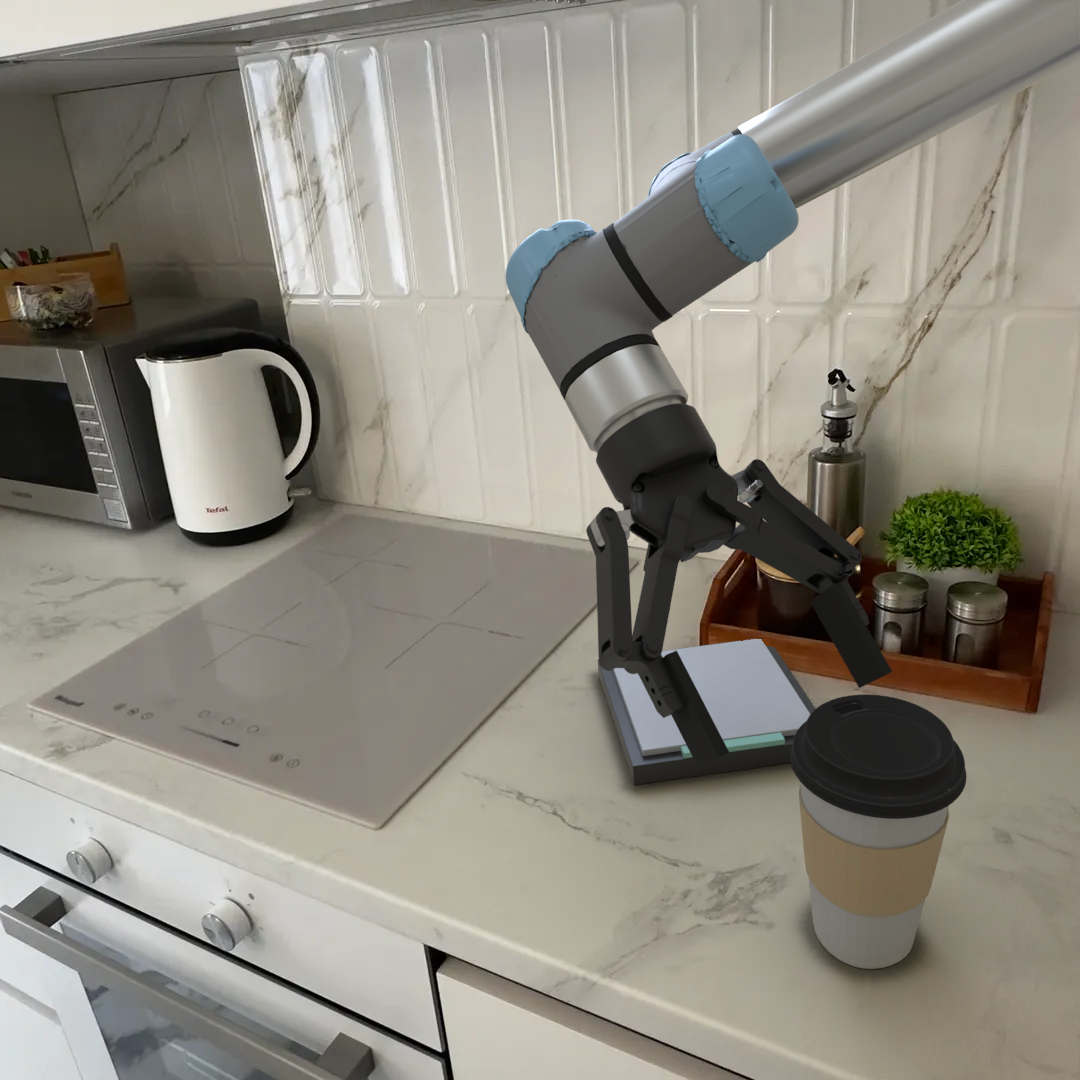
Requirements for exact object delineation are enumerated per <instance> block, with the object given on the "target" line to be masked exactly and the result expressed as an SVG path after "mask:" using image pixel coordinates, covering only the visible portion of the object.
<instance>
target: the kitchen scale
mask: <svg viewBox="0 0 1080 1080" xmlns="http://www.w3.org/2000/svg"><path fill="white" fill-rule="evenodd" d="M749 639H750V640H749ZM749 639H743V641H741V640H736V641H735V640H733V641H728V642H727V641H726V642H719V643H712V644H704V645H703V644H702V645H697V646H689V647H688V646H687V647H682V648H674V649H666V650H662V653H661V655H662V657H664V656H666V655H667V654H669V653H672V652H674V651H677V652H678V654H679V656H680V658H681V660H682V662H683V664H684V666H685V668H686V669H687V671H688V673H689V675H690V677H691V679H692V681H693V683H694V685H695V687H696V689H697V691H698V693H699V695H700V697H701V699H702V700H703V702H704V704H705V706H706V708H707V710H708V712H709V714H710V716H711V718H712V720H713V722H714V724H715V726H716V728H717V729H718V731H719V733H720V735H721V737H722V739H723V741H724V743H725V745H726V747H727V749H728V751H729V752H728V753H726V754H724V755H722V756H720V757H718V758H716V759H714V760H712V761H710V762H708V763H706V764H703V765H701V766H699V767H697V765H696V763H695V761H694V759H693V757H692V755H691V753H690V751H689V749H688V747H687V745H686V743H685V741H684V739H683V737H682V735H681V733H680V731H679V729H678V727H677V725H676V723H675V721H674V719H673V717H672V715H670V716H667V717H665V718H663V717H662V716H661V715H660V714H659V713H658V712H657V711H656V709H655V707H654V705H653V702H652V701H651V699H650V696H649V695H648V693H647V691H646V689H645V687H644V685H643V683H642V681H641V679H640V677H639V675H638V674H630V673H628V672H627V671H626V670H625V669H624V668H615V669H613V670H611V671H608V670H605V669H603V668H602V667H601V665H600V664H599V658H598V659H597V673H598V678H599V681H600V684H601V688H602V690H603V694H604V697H605V700H606V704H607V706H608V710H609V712H610V715H611V718H612V721H613V725H614V729H615V732H616V734H617V737H618V740H619V744H620V746H621V751H622V754H623V756H624V759H625V762H626V764H627V765H626V766H627V768H628V771H629V775H630V778H631V781H632V784H633V786H637V785H644V784H651V783H657V782H666V781H672V780H679V779H686V778H694V777H700V776H707V775H715V774H722V773H728V772H729V773H730V772H735V771H740V770H741V771H743V770H749V769H758V768H763V767H771V766H778V765H785V764H791V762H790V751H791V747H792V744H793V739H794V736H795V734H796V732H797V730H798V729H799V728H800V726H801V725H802V724H803V723H804V722H806V721H807V719H808V717H809V716H810V714H811V713H812V712H813V711H814V710H815V709H816V708H817V707H815V706H814V704H813V703H812V701H811V699H810V698H809V696H808V695H807V694H806V692H805V691H804V689H803V688H802V686H801V685H800V683H799V681H798V680H797V678H796V677H795V675H794V674H793V672H792V671H791V669H790V668H789V667H788V665H787V663H786V662H785V661H784V659H783V657H782V655H780V653H779V651H778V650H777V649H776V647H775V646H774V647H771V646H766V645H765V644H764V642H763V641H762V639H756V638H749Z"/></svg>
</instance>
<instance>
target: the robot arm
mask: <svg viewBox="0 0 1080 1080" xmlns="http://www.w3.org/2000/svg"><path fill="white" fill-rule="evenodd" d="M1079 61H1080V0H960V1H958V2H956V3H955V4H953V5H951V6H949V7H947V8H946V9H944V10H942V11H940V12H939V13H937V14H935V15H934V16H931V17H929V18H928V19H927V20H925V21H922V22H920V23H919V24H917V25H916V26H914V27H911V29H909V30H906V31H905V32H903V33H901V34H900V35H898V36H896V37H895V38H893V39H891V40H889V41H887V42H886V43H884V44H882V45H880V46H879V47H877V48H875V49H873V50H871V51H869V52H868V53H866V54H865V55H864V54H863V56H861V57H859V58H857V59H856V60H853V61H852V62H851V63H849V64H847V65H844V66H843V67H841V68H840V69H838V70H836V71H834V72H832V73H831V74H829V75H827V76H825V77H824V78H822V79H821V80H819V81H817V82H815V83H813V84H811V85H810V86H808V87H806V88H804V89H802V90H801V91H799V92H797V93H795V94H794V95H792V96H790V97H788V98H786V99H785V100H782V101H781V102H780V103H778V104H776V105H774V106H772V107H771V108H769V109H767V110H765V111H764V112H761V113H760V114H758V115H757V116H754V117H753V118H751V119H750V120H748V121H746V122H744V123H742V124H741V125H739V126H737V128H736V129H734V130H732V131H730V132H728V133H726V134H724V135H722V136H719V137H718V138H716V139H714V140H712V141H711V142H709V143H707V144H705V145H704V146H702V147H700V148H699V149H697V150H695V151H693V152H686V153H683V154H681V155H679V156H676V158H673V159H672V160H670V161H669V162H668V163H666V164H664V165H663V166H662V167H661V169H660V170H659V172H658V173H657V174H656V175H655V177H654V178H653V180H652V182H651V184H650V187H649V189H648V193H647V197H646V198H645V199H644V200H642V201H641V202H640V203H638V204H637V205H636V206H634V207H633V208H632V209H631V210H629V211H628V212H626V213H625V214H624V215H623V216H622V217H620V218H619V219H618V220H616V221H615V222H611V224H609V225H607V226H606V227H605V228H602V229H601V230H599V231H598V232H597V231H595V230H594V228H593V227H592V226H591V225H590V224H589V223H587V222H586V221H582V220H579V219H562V220H558V221H556V222H554V223H553V224H552V225H551V226H550V227H548V228H546V229H545V228H539V229H537V230H536V231H534V232H533V233H531V234H530V235H529V236H527V237H526V238H524V240H522V242H521V243H520V244H519V245H518V246H517V247H516V249H514V251H513V253H512V254H511V256H510V258H509V260H508V262H507V265H506V269H505V283H506V287H507V290H508V292H509V294H510V296H511V299H512V301H513V303H514V305H515V308H516V310H517V312H518V314H519V316H520V322H521V323H522V327H523V329H524V332H525V333H526V334H528V336H529V338H530V340H531V341H532V343H533V345H534V347H535V348H536V350H537V352H538V354H539V356H540V357H541V359H542V361H543V363H544V365H545V367H546V368H547V371H548V372H549V374H550V376H551V378H552V380H553V381H554V383H555V385H556V387H557V388H558V390H559V392H560V395H561V396H562V399H563V400H564V402H565V405H566V407H567V408H568V410H569V412H570V414H571V416H572V418H573V420H574V422H575V424H576V426H577V427H578V429H579V431H580V433H581V435H582V437H583V439H584V441H585V443H586V444H587V446H588V448H589V450H590V451H591V452H595V453H596V457H595V463H596V465H597V467H598V469H599V471H600V473H601V475H602V477H603V479H604V480H605V483H606V485H607V486H608V488H609V491H610V493H611V494H612V496H613V498H614V499H615V501H616V502H618V503H619V504H621V505H622V508H623V510H617V511H616V510H615V509H614V508H613V507H610V506H604V507H602V509H601V510H599V512H598V513H597V514H596V515H595V517H594V518H593V519H592V520H591V521H590V523H589V524H588V525H587V526H586V530H585V532H586V535H587V538H588V540H589V544H590V546H591V548H592V551H593V553H594V556H595V571H596V572H595V574H596V575H595V579H596V581H595V582H596V610H597V611H596V613H597V640H598V641H597V647H598V650H597V651H598V659H599V664H600V665H601V667H602V668H603V669H605V670H608V671H611V670H613V669H615V668H624V669H625V670H626V671H627V672H628V673H630V674H638V675H639V677H640V679H641V681H642V683H643V685H644V687H645V689H646V691H647V693H648V695H649V696H650V699H651V701H652V702H653V705H654V707H655V709H656V711H657V712H658V713H659V714H660V715H661V716H662V717H663V718H665V717H667V716H670V715H672V717H673V719H674V721H675V723H676V725H677V727H678V729H679V731H680V733H681V735H682V737H683V739H684V741H685V743H686V745H687V747H688V749H689V751H690V753H691V755H692V757H693V759H694V761H695V763H696V765H697V767H699V766H701V765H703V764H706V763H708V762H710V761H712V760H714V759H716V758H718V757H720V756H722V755H724V754H726V753H728V752H729V751H728V749H727V747H726V745H725V743H724V741H723V739H722V737H721V735H720V733H719V731H718V729H717V728H716V726H715V724H714V722H713V720H712V718H711V716H710V714H709V712H708V710H707V708H706V706H705V704H704V702H703V700H702V699H701V697H700V695H699V693H698V691H697V689H696V687H695V685H694V683H693V681H692V679H691V677H690V675H689V673H688V671H687V669H686V668H685V666H684V664H683V662H682V660H681V658H680V656H679V654H678V652H677V651H674V652H672V653H669V654H667V655H666V656H664V657H662V655H661V653H662V651H663V650H664V643H665V637H666V632H667V626H668V621H669V616H670V610H671V606H672V605H671V604H672V599H673V593H674V588H675V584H676V583H675V582H676V577H677V572H678V566H679V563H680V562H681V563H685V562H687V561H689V560H692V559H693V558H694V557H695V556H697V555H698V554H703V553H711V552H714V551H716V550H719V549H720V548H721V547H722V546H724V547H727V548H728V549H731V550H741V551H743V552H744V553H746V554H748V555H750V556H752V557H754V558H755V559H757V560H759V561H761V562H763V563H764V564H766V565H767V566H769V567H771V568H773V569H775V570H777V571H779V572H780V573H782V574H784V575H786V576H788V577H789V578H791V579H793V580H795V581H797V582H798V583H799V584H802V585H803V586H806V587H807V588H809V589H811V590H812V591H814V592H816V593H818V594H817V595H816V596H815V597H813V598H812V599H810V600H809V602H810V604H811V606H812V608H813V609H814V611H815V613H816V615H817V616H818V618H819V620H820V622H821V623H822V625H823V627H824V629H825V630H826V632H827V634H828V636H829V637H830V638H829V639H831V641H832V643H833V645H834V646H835V648H836V650H837V652H838V653H839V656H840V657H841V659H842V660H843V662H844V664H845V666H846V667H847V669H848V671H849V673H850V674H851V676H852V678H853V680H854V682H855V684H856V685H857V687H858V689H860V688H862V687H864V686H866V685H868V684H871V683H873V682H875V681H877V680H879V679H881V678H882V677H885V676H887V675H889V674H891V673H893V670H892V668H891V667H890V664H889V663H888V661H887V659H886V658H885V656H884V654H883V652H882V651H881V650H880V647H879V646H878V644H877V642H876V641H875V639H874V637H873V636H872V634H871V632H870V631H869V628H868V627H867V626H868V625H870V620H869V615H868V614H867V612H866V611H865V609H864V608H863V605H862V603H861V602H860V599H858V597H857V595H856V593H855V592H854V590H853V588H852V587H851V585H850V582H849V578H850V577H851V576H853V575H854V573H855V571H856V568H855V567H856V566H857V565H859V564H860V563H861V562H862V560H863V557H862V554H861V551H860V550H859V549H857V547H855V546H854V545H853V544H852V543H850V542H849V540H847V539H845V537H844V536H842V535H841V534H840V533H839V532H837V531H836V530H835V528H833V527H831V525H829V524H828V523H827V522H825V521H824V520H823V519H822V518H821V517H820V516H819V515H817V514H816V513H815V512H814V511H812V510H811V509H810V508H809V507H808V506H807V505H805V504H804V503H803V502H802V501H801V500H799V499H798V498H797V497H795V496H794V495H793V494H792V493H791V492H790V491H789V490H787V489H786V488H785V487H783V485H781V484H780V483H779V481H778V480H777V479H776V477H775V475H774V474H773V473H772V471H771V470H770V469H769V467H768V465H767V464H766V463H765V462H764V461H763V460H761V459H760V458H759V459H758V458H755V459H753V460H752V461H751V462H750V463H749V464H748V465H747V466H746V467H745V468H743V469H742V470H740V471H738V472H736V473H734V474H732V475H730V473H728V472H727V471H725V470H724V468H723V467H722V466H721V464H720V463H719V458H718V453H717V452H718V451H717V445H716V443H715V441H714V439H713V437H712V436H711V434H710V432H709V430H708V428H707V427H706V425H705V423H704V421H703V419H702V418H701V416H700V415H699V413H698V411H697V408H695V407H694V406H692V405H689V404H687V403H688V401H689V394H688V392H687V391H686V390H687V389H686V388H685V387H684V385H683V383H682V382H681V380H680V378H679V376H678V375H677V373H676V371H675V369H674V367H673V366H672V365H671V363H670V361H669V359H668V358H667V356H666V354H665V352H664V351H663V350H662V347H661V346H660V344H659V342H658V340H657V339H656V337H655V334H654V332H653V330H654V329H655V328H657V327H658V326H660V325H661V324H663V323H665V322H667V321H668V320H670V319H672V318H673V316H675V315H676V314H678V313H679V312H681V311H682V310H684V309H685V308H687V307H688V306H689V305H691V304H693V303H694V302H696V301H697V300H699V299H700V298H702V297H704V296H705V295H706V294H708V293H710V292H711V291H713V290H714V289H715V288H717V287H718V286H720V285H721V284H723V283H724V282H726V281H727V280H729V279H732V277H734V276H736V275H737V274H738V273H740V272H741V271H743V270H744V269H746V268H747V267H749V266H750V265H752V264H753V263H755V262H756V263H759V262H760V261H763V260H764V259H765V257H766V256H767V254H768V253H770V251H772V250H774V248H775V247H777V246H778V245H779V244H781V243H782V242H783V241H785V240H786V239H788V238H789V237H790V236H792V234H794V232H795V231H796V230H797V228H798V225H799V220H800V219H799V213H798V210H797V209H798V208H801V207H803V206H804V205H805V204H808V203H810V202H812V201H814V200H816V199H818V198H819V197H821V196H823V195H825V194H827V193H829V192H831V191H833V190H835V189H836V188H838V187H840V186H843V185H844V184H846V183H848V182H850V181H852V180H854V179H856V178H857V177H860V176H862V175H863V174H865V173H867V172H869V171H871V170H873V169H875V168H877V167H879V166H881V165H882V164H883V165H884V163H887V162H889V161H890V160H892V159H894V158H896V157H898V156H900V155H902V154H903V153H905V152H907V151H909V150H911V149H913V148H915V147H917V146H919V145H921V144H922V143H924V142H926V141H929V140H930V139H932V138H934V137H936V136H938V135H940V134H942V133H944V132H946V131H947V130H949V129H951V128H954V127H955V126H957V125H959V124H961V123H962V122H964V121H966V120H968V119H971V118H972V117H974V116H976V115H978V114H981V113H982V112H984V111H986V110H989V108H991V107H993V106H995V105H997V104H999V103H1001V102H1003V101H1005V100H1007V99H1009V98H1011V97H1013V96H1015V95H1016V94H1018V93H1020V92H1022V91H1024V90H1026V89H1027V88H1030V87H1031V86H1034V85H1035V84H1037V83H1039V82H1041V81H1043V80H1045V79H1047V78H1049V77H1051V76H1053V75H1055V74H1057V73H1058V72H1060V71H1062V70H1064V69H1067V68H1068V67H1070V66H1072V65H1074V64H1075V63H1077V62H1079ZM745 503H747V504H745ZM737 523H738V525H737ZM631 533H632V534H633V535H635V536H636V537H638V538H639V539H641V540H642V541H644V542H646V543H647V548H646V554H645V559H644V564H643V569H642V570H643V572H644V576H643V580H642V586H641V590H640V595H639V601H638V605H637V610H636V614H635V615H636V616H635V620H634V625H633V624H632V622H633V621H632V620H633V619H632V601H631V600H632V599H631V579H630V555H629V554H630V552H629V543H628V540H629V539H630V537H631Z"/></svg>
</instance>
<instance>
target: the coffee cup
mask: <svg viewBox="0 0 1080 1080" xmlns="http://www.w3.org/2000/svg"><path fill="white" fill-rule="evenodd" d="M815 708H816V709H815V710H814V711H813V712H812V713H811V714H810V716H809V717H808V719H807V721H806V722H804V723H803V724H802V725H801V726H800V728H799V729H798V730H797V732H796V734H795V736H794V739H793V744H792V747H791V751H790V762H791V763H790V765H791V768H792V772H793V773H794V774H795V777H796V779H798V781H799V783H800V784H799V789H798V800H799V801H798V803H799V811H800V823H801V824H800V825H801V835H802V843H803V844H802V846H803V857H804V865H805V872H806V874H807V876H808V883H809V893H810V904H811V905H810V906H811V914H812V924H813V929H814V932H815V935H816V937H817V939H818V941H819V942H820V943H821V945H822V947H824V949H825V950H826V951H827V952H828V953H829V954H830V955H832V956H833V957H834V958H836V959H837V960H839V961H840V962H842V963H844V964H846V965H849V966H851V967H855V968H859V969H863V970H865V969H866V970H875V969H883V968H886V967H890V966H893V965H896V964H897V963H899V962H901V961H902V960H903V959H905V958H906V957H907V956H908V954H909V953H910V952H911V950H912V949H913V945H914V942H915V938H916V935H917V931H918V927H919V923H920V920H921V915H922V912H923V908H924V905H925V901H926V898H927V897H928V896H929V893H930V891H931V888H932V884H933V881H934V877H935V873H936V869H937V865H938V861H939V858H940V855H941V850H942V845H943V843H944V842H943V841H944V838H945V834H946V831H947V827H948V823H949V819H950V813H949V806H950V805H952V804H953V803H954V802H955V801H956V800H958V798H959V797H960V796H961V794H962V793H963V792H964V790H965V787H966V784H967V770H966V760H965V757H964V753H963V751H962V750H961V747H960V746H959V744H958V743H957V742H956V741H955V739H954V737H953V735H952V732H951V730H950V729H949V728H948V726H947V725H946V724H945V722H944V721H943V720H942V719H940V718H939V717H938V716H937V715H935V713H933V712H931V711H930V710H928V709H926V708H925V707H922V706H920V705H918V704H916V703H914V702H910V701H908V700H905V699H902V698H897V697H893V696H887V695H880V694H852V695H850V694H849V695H844V696H840V697H837V698H833V699H830V700H828V701H825V702H824V703H822V704H820V705H819V706H817V707H815Z"/></svg>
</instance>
